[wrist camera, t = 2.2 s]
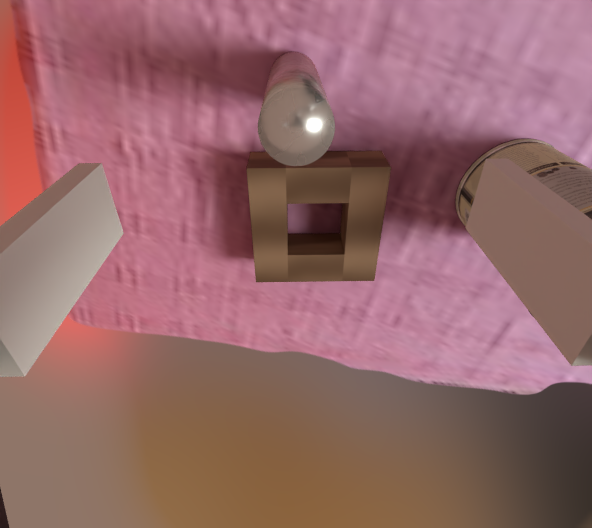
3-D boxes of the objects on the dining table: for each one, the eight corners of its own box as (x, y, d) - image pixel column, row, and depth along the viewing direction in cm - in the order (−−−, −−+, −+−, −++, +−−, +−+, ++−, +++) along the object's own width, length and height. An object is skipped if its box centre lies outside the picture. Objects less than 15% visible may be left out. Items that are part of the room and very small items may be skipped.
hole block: (250, 152, 34) (246, 168, 31) (381, 150, 35) (391, 167, 31) (258, 259, 41) (256, 282, 38) (367, 258, 42) (374, 280, 38)
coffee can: (585, 178, 36) (721, 263, 25) (496, 250, 41) (575, 349, 30) (522, 113, 33) (648, 176, 21) (432, 200, 38) (495, 290, 26)
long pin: (268, 52, 30) (255, 87, 18) (318, 51, 30) (337, 87, 18) (270, 105, 32) (260, 166, 21) (317, 105, 32) (332, 165, 21)
